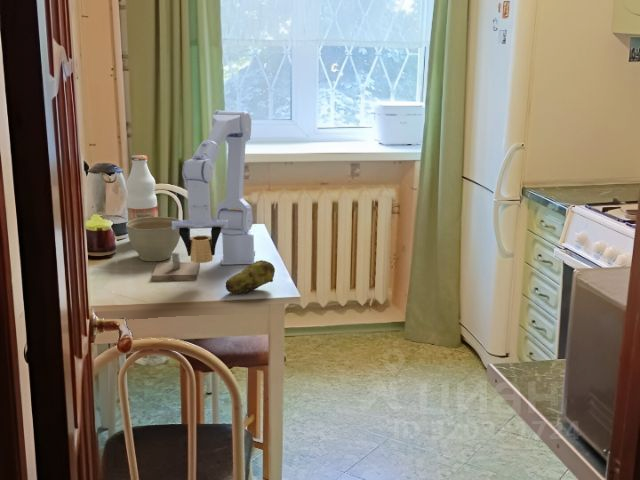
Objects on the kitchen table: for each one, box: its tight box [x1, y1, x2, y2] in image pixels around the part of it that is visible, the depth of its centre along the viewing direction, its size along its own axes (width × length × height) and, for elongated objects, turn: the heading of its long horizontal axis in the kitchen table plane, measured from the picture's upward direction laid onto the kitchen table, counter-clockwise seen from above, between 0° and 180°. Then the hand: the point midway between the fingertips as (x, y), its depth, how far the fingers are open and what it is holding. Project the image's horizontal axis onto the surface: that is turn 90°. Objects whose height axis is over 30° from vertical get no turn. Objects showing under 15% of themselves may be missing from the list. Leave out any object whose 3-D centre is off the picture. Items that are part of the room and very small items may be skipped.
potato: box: [225, 259, 276, 295], centre depth 205 cm, size 8×13×8 cm, turn 95°
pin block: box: [151, 251, 201, 282], centre depth 220 cm, size 12×12×6 cm
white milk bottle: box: [125, 154, 159, 244], centre depth 250 cm, size 9×9×28 cm
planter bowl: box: [125, 216, 181, 262], centre depth 235 cm, size 16×16×11 cm
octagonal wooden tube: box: [190, 234, 214, 264], centre depth 209 cm, size 6×6×6 cm
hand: (201, 254), depth 209 cm, fingers closed on octagonal wooden tube, 6 cm apart
